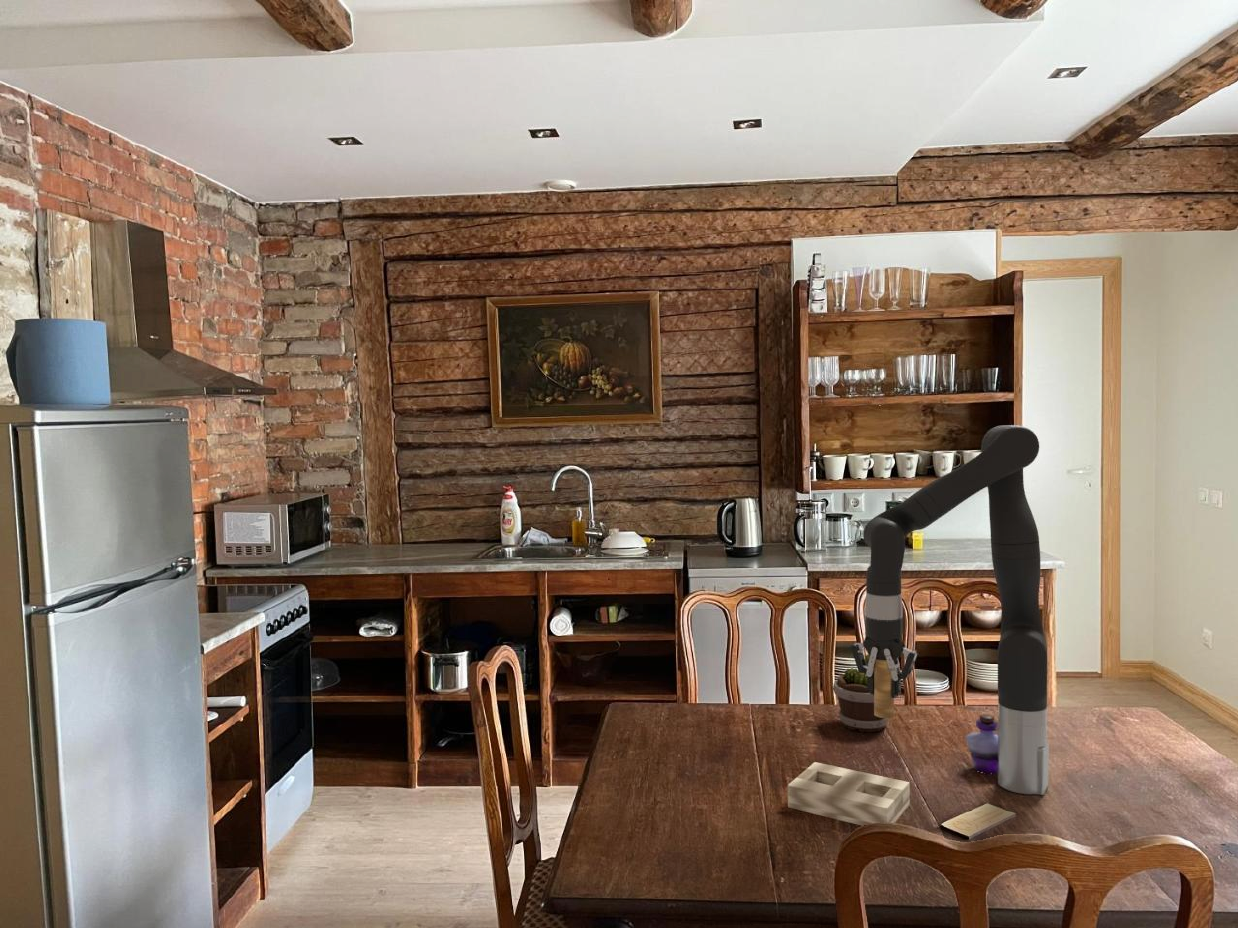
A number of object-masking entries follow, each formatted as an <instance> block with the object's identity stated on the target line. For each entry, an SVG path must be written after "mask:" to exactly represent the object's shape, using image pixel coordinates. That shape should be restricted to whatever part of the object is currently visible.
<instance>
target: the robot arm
mask: <svg viewBox="0 0 1238 928" xmlns="http://www.w3.org/2000/svg"><path fill="white" fill-rule="evenodd" d="M1039 451H1040V441H1039V437H1038V436H1037V435H1036V433H1035V432H1034V431H1032V430H1031V429H1030V428H1028V427H1025V426H1022V425H1017V424H1016V425H1015V424H1011V425H1010V424H1007V425H997V426H995V427H992V428H990V429H989V430H988V431H987V432H986V433H985V434H984V437H983V438H982V441H981V446H980V452H979V454H977V455H976V456H975V457H973V458H971V459H970V460H969V461H967V462H966V463H964V464H963V465H961V466H959V467H957V468H956V469H954V470H952V471H950V472H948V473H946V474H943V475H942V476H940V477H937V478H936V479H933V481H930V482H929V483H928V484H926V485H924V486H923V487H921V488H920V489H918V490H917V491H916V492H914V493H913V494H912V495H910V496H909V497H908V498H906V499H904V500H903V501H902V502H900V503H899V504H897V505H894V506H892V507H890V508H889V509H886V510H885V511H883V512H881V513H879V514H877V515H876V516H874V517H873V518H872V519H871V520H869V521H868V522H867V523H866V525H865V527H864V528H863V531H862V532H863V533H862V539H863V541H864V543H865V544H866V545H867V546H868V548H870V563H869V566H868V567H867V570H866V575H865V576H866V577H865V579H866V580H865V587H866V588H865V589H866V590H865V592H866V594H865V600H864V601H865V602H864V640H863V642H855V643H853V644H852V645H851V646H850V650H851V653H852V655H853V659H854V662H855V665H856V669H857V671H859V672H860V673H864V674H866V675H867V689H868V691H870V694H872V695H874V666H875V660H876V659H880V660H887V664H888V667H889V670H890V671H891V675H892V679H893V680H892V681H891V690H892V698H894V699H896V698H897V697H898V696H900V695H901V692H902V680H906V679H907V678H908V677H910V676H911V675H912V670H913V668H914V666H915V662H916V660H917V657H918V654H919V653H918V651H917V650H915V649H913V650H911V649H909V648H907V647H906V646H905V644H904V641H903V636H904V635H903V634H904V633H903V630H904V629H903V625H904V623H903V621H904V620H903V619H904V618H903V615H904V614H903V613H904V612H903V609H904V608H903V606H904V605H903V599H902V568H903V565H904V559H905V557H904V556H905V550H906V539H905V538H906V536H907V535H909V534H911V533H913V532H914V531H919V530H924V529H926V528H927V527H929V526H930V525H932V524H933V523H935V522H936V521H937V520H939V519H940V518H943V516H945V515H946V514H947V513H949V512H951V511H952V510H953V509H955V508H957V506H959V505H960V504H962V503H963V502H964V501H966V500H968V499H969V498H970V497H972V496H974V495H975V494H978V492H980V491H982V490H983V489H985V488H987V492H988V513H989V528H990V546H991V561H992V566H993V567H992V568H993V573H994V578H995V581H996V586H997V589H998V593H999V597H1000V606H1001V609H1000V610H1001V611H1000V612H1001V624H1000V625H1001V626H1000V636H999V637H1000V638H999V642H998V648H997V696H998V697H997V700H998V701H997V704H998V705H997V707H998V708H997V710H998V712H997V718H998V719H997V723H998V729H997V735H998V774H997V783H998V785H999V786H1000V787H1002V789H1005V790H1007V791H1010V792H1013V793H1015V794H1016V793H1018V794H1024V795H1040V796H1043V795H1045V793H1046V790H1047V788H1048V787H1049V752H1050V751H1049V744H1050V742H1049V740H1048V738H1047V734H1048V733H1047V730H1048V729H1047V726H1048V725H1047V724H1048V723H1047V722H1048V720H1047V718H1048V715H1047V714H1048V713H1047V712H1048V708H1047V707H1048V645H1047V640H1046V637H1045V633H1044V632H1045V631H1044V628H1043V624H1042V623H1043V622H1042V616H1041V610H1040V601H1039V600H1040V598H1039V597H1040V596H1039V594H1040V587H1041V586H1040V585H1041V548H1040V538H1039V531H1038V527H1037V524H1036V520H1035V517H1034V515H1033V512H1032V509H1031V507H1030V505H1029V502H1028V498H1027V495H1026V492H1025V486H1024V485H1025V483H1024V468H1026V467H1028V466H1030V465H1031V464H1033V462H1034V461H1035V460H1036V458H1037V456H1038V454H1039ZM865 651H866V653H867V655H868V654H869V655H870V659H869V663H868V666H867V664H866V661H865V658H866V657H865V654H864V652H865ZM902 654H903V655H904V660H905V663H904V666H903V669H902V671H901V668H900V667H901V666H900V665H901V664H900V661H899V657H901V655H902Z"/></svg>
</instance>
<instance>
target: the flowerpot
mask: <svg viewBox="0 0 1238 928" xmlns="http://www.w3.org/2000/svg"><path fill="white" fill-rule="evenodd" d="M864 658H865V661H866V664H867V666H868V663H869V659H870V655H869V654H868V653H867V654H864ZM831 689H832V690H833V693H834V694H835V695H836V696H837V700H838V705H839V709H840V710H839V711H838V718H839V720H840V722H842V724H843V726H844V727H845V728H848V729H849V730H858V731H859V732H860V733H861V732H863V733H864V732H867V733H874V732H879V731H882V729H884V727H885V726H886V725H887V724H888V722H889V719H890V718H880V717H877V716H875V715H874V695H872V694H870V691H868V689H867V675H866V674H864V673H860V672H859V671H858V668H854V665H852V667H851V666H849V668H844V674H842V675H839V676H838V677H837V680H835V682H833V687H832V688H831Z"/></svg>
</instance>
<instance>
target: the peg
mask: <svg viewBox="0 0 1238 928" xmlns="http://www.w3.org/2000/svg"><path fill="white" fill-rule="evenodd" d="M892 680H893V679H892V675H891V671H890V670H889V667H888V664H887V660H880V659H876V660H875V666H874V715H875V716H877V717H880V718H889V719H893V718H894V717H895V698H892V690H891V681H892Z"/></svg>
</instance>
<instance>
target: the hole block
mask: <svg viewBox="0 0 1238 928" xmlns="http://www.w3.org/2000/svg"><path fill="white" fill-rule="evenodd" d="M910 784H911V783H910V781H905V780H900V779H895V778H892V777H891V778H890V777H886V776H881V775H877V774H874V773H873V774H872V773H867V772H864V771H858V770H854V769H849V768H845V767H841V766H840V767H839V766H836V765H831V764H825V763H821V762H816V761H814V762H813V763H812V764H811V765H809V767H807V768H806V769H805V770H803V772H801V773H800V774H799V775H798V776H796V778H794V779H793V780H792V781H791V782H789V784H787V807H788V808H790V809H795V810H798V811H802V812H805V813H806V812H807V813H809V814H814V815H817V816H818V815H819V816H822V817H826V818H830V819H834V820H838V821H842V822H845V823H851V824H855V825H858V826H862V827H865V826H864V825H867V824H874V823H894V824H895V823H896V822H897V821H898V820H899V818H900V817H901V816H902V814H903V813H904V812H905V811H906V809H907V808H908V807H909V806H910V805H911V803H910V802H911V801H910V797H911V796H910V793H911V792H910V791H911V790H910V787H911V785H910Z"/></svg>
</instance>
